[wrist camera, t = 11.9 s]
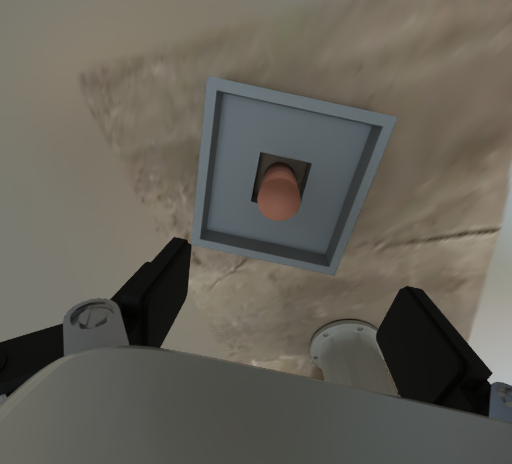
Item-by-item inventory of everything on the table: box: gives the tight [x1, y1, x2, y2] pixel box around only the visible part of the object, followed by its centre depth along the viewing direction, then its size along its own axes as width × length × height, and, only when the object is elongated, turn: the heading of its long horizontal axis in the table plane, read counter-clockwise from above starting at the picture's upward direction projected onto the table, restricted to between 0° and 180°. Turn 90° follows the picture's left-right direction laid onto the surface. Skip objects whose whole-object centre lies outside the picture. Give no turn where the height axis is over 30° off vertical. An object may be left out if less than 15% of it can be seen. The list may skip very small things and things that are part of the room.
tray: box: [191, 76, 398, 276], centre depth 30 cm, size 18×18×6 cm
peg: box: [257, 162, 301, 221], centre depth 28 cm, size 4×4×10 cm
